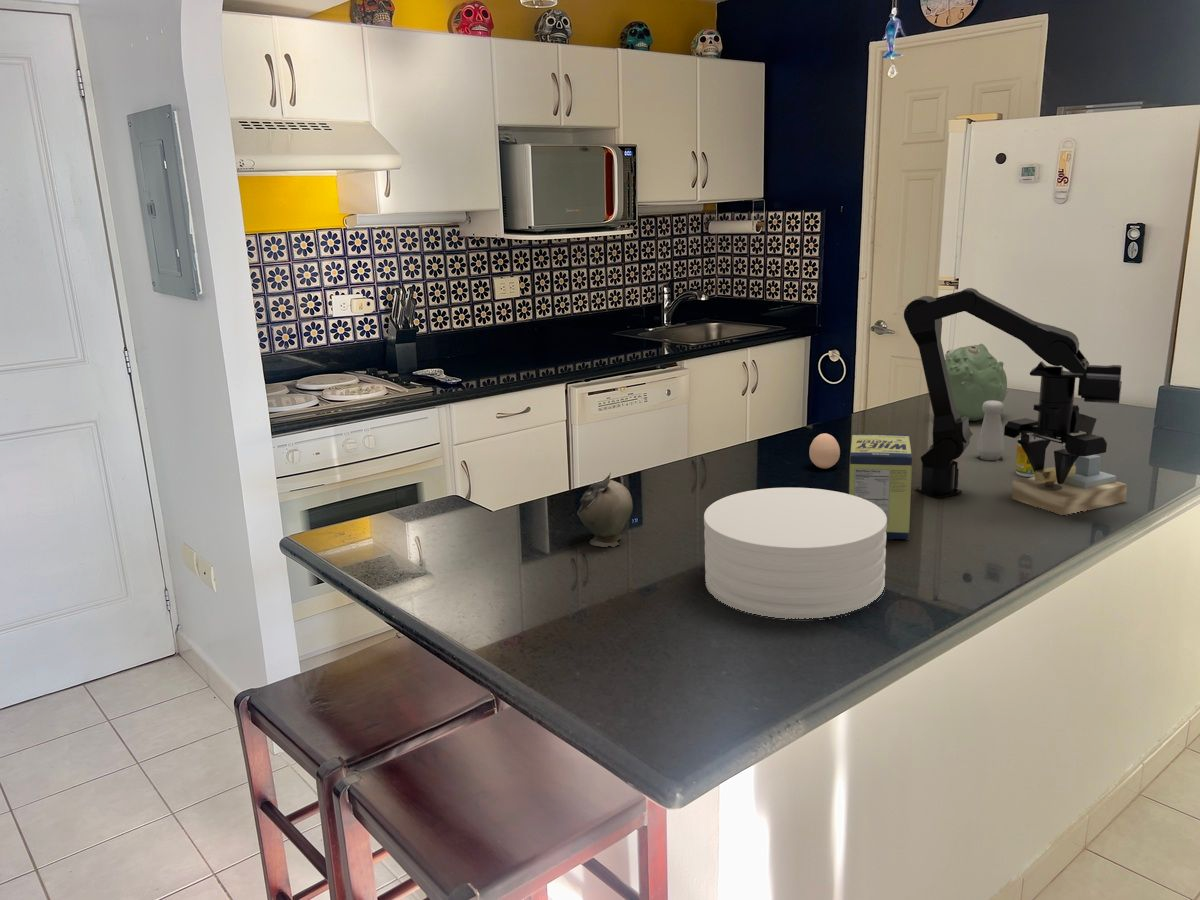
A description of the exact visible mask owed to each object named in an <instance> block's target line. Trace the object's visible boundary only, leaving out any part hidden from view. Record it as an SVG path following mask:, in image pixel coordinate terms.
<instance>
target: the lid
mask: <svg viewBox="0 0 1200 900" xmlns="http://www.w3.org/2000/svg"><path fill="white" fill-rule="evenodd" d="M1101 459H1102V456H1100V455H1099V454H1095V455H1090V456H1079V457H1078V458H1077V459H1076V461H1075V462H1074V466H1076V472H1075V476H1073V477H1068V478H1066V479H1065V481H1064V482H1065V483H1068V484H1071V485H1074V486H1078V487H1081V488H1084V489H1086V488H1091V487H1095V486H1100V485H1104V484H1109V483H1114V482H1116V481H1117V475H1114V474H1111V473H1107V472H1104V471H1100V470H1101V462H1102V461H1101Z"/></svg>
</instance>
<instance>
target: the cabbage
mask: <svg viewBox="0 0 1200 900" xmlns="http://www.w3.org/2000/svg"><path fill="white" fill-rule="evenodd" d="M944 357H945V362H946V366H947V371H948V376H949V380H950V385H951V389H952V394H953V398H954V403H955V408H956V410H957V412H958V413H959V415H960V417H961V418H962V417H965V416H968V418H969V421H971V422H973V421H974V422H976V421H980V420H983V419H984V415H985V412H984V411H983V410H982V407H983V403H984V402H986V401H991V400H994V401H1000V402H1002V403H1003V402H1004V401H1005V399H1006V397H1007V394H1008V390H1007V388H1008V380H1007V374H1006V371H1005V369H1004V362H1003V361H997V358H995V356H993V354H991V353H990V352H989V350H988V348H987V346H985V344H983V343H980V344H974V345H967V346H961V347H958V348H955V349H952V348H951V349H949V350H947V351H946V353H945V354H944Z"/></svg>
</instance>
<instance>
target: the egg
mask: <svg viewBox="0 0 1200 900" xmlns="http://www.w3.org/2000/svg"><path fill="white" fill-rule="evenodd" d="M840 455H841V449H840V445H839V442H838V441H837V439H836V438H835V437H834V436H833V435H831V434H829V433H827V432H826V433H820V434H818V435H817V436H816V437H814V438H813V440H812V442H811V444H810V445H809V459H810V460H811V463H813V464H814V465H815V466H816V467H817V468H820V469H829V468H831V467H834V465H836V463H837V462H838V461H839V459H840Z"/></svg>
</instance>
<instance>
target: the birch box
mask: <svg viewBox="0 0 1200 900" xmlns="http://www.w3.org/2000/svg"><path fill="white" fill-rule="evenodd" d="M1127 490H1128V484H1127V483H1124V482H1120V481H1117V480H1116V482H1114V483H1109V484H1104V485H1100V486H1095V487H1091V488H1086V489H1084V488H1081V487H1078V486H1074V485H1071V484H1068V483H1065V482H1064V483H1063V484H1058V483H1057V480H1055V482H1054V487H1047V486H1045V482H1044V483H1040V482H1037V481H1035V477H1026V478H1023V479H1019V480H1013V481H1012V486H1011V499H1012V500H1015V501H1018V502H1020V503H1023V504H1026V505H1029V506H1032V507H1035V508H1037V507H1039V508H1038V509H1040V508H1042V509H1041V510H1043V509H1045V510H1044V511H1046V510H1048V511H1047V512H1049V511H1051V512H1054V513H1057V514H1060V515H1066V516H1068V515H1067V514H1070V515H1072V514H1071V513H1075V514H1078V513H1077V512H1079V513H1081V512H1080V511H1083V512H1087V510H1088V511H1091V510H1095V509H1099V508H1104V507H1110V506H1113V505H1118V504H1122V503H1126V501H1127V498H1126V497H1127ZM1051 512H1050V513H1051ZM1054 513H1053V514H1054ZM1057 514H1056V515H1057ZM1060 515H1059V516H1060Z"/></svg>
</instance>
